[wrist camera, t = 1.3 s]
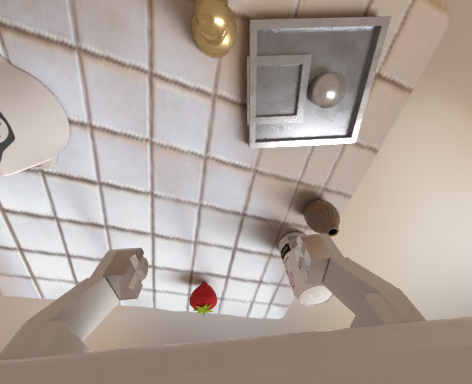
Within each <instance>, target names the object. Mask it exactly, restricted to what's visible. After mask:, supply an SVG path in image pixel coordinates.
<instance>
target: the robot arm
mask: <svg viewBox="0 0 472 384" xmlns="http://www.w3.org/2000/svg"><path fill="white" fill-rule="evenodd" d="M69 136H70V128H69V123H68V119H67V116H66V114H65V112H64V110H63V108H62V106H61V105H60V103H59V102H58V100H57V99H56V98H55V96H54V95H53V94H52V93H51V92H50V91H49V90H48V89H47V88H46V87H45V86H44V85H43V84H42V83H40V82H39V81H38V80H37V79H35V78H34V77H32V76H31V75H29V74H27V73H26V72H24V71H22V70H20V69H18V68H16V67H14V66H13V65H11V64H9V63H8V62H7V61H6V60H5V59H4V58H3V57H2V56H0V175H3V176H9V175H12V174H15V173H18V172H20V171H23V170H26V169H28V168H39V169H50V168H53V167H54V166H55V165H56V161H57V156H58V154H59V153H60V152H61V151H62V150H63V149H64V148H65V147H66V145H67V143H68V140H69ZM296 242H297V244H298V245H297V246H296V247H295V258H296V262H297V264H298V266H300V267H301V268H302V269H301V274H302V276H303V279H304V281H305V284H319V283H323V285H324V286H325V287H326V288H327V289H328V290H329V291H330V292H331V293H333V294H334V295H335V296H336V297H337V298H338V299H339V300H340V301H341V302H342V303H343V304H344V305H345V306H347V307H348V308H349V309H350V310H351V311H352V312H353V313H354V314H355V315H356V316H355V318H354V320H353V322H352V323H351V326H350V327H351V328H344V329H334V330H323V331H312V332H301V333H290V334H280V335H268V336H258V337H246V338H235V339H224V340H213V341H203V342H192V343H181V344H171V345H160V346H149V347H138V348H128V349H116V350H105V351H95V352H90V347H89V346H88V345H87V344H86V343H85V342H84V339H85V338H86V337H87V336H88V335H89V334H90V333H91V332H92V331H93V330H94V329H95V328H96V327H97V325H98V324H99V323H100V322H101V321H102V320H103V319H104V318H105V317H106V316H107V315H108V314H109V313H110V311H111V310H112V309H113V308H114V307H115V306H116V305H117V304H118V303H119V302H120V301H119V300H128V299H137V298H138V296H139V293H140V291H141V288H142V286H143V285H142V283H141V281H142V280H143V279H145V278H146V275H147V272H148V262H147V259H146V258H144V257H143V254H144V252H143V250H142V248H130V249H114V250H109V251H108V252H107V253H106V254H105V256H104V257H103V259H102V260H101V262H100V263H99V265H98V266H97V268H96V269H95V271H94V272H93V274H92V275H91V277H90V278H86V279H85V280H83V281H82V282H81V283H79V284H78V285H77V286H75V287H74V288H72V289H71V290H70V291H68V292H67V293H65V294H64V295H63V296H61V297H60V298H58V299H57V300H56V301H54V302H53V303H51V304H50V305H49V306H47V307H46V308H45V309H43V310H42V311H40V312H39V313H38V314H36V315H35V316H33V317H32V318H31V319H29V320H28V321H27V322H25V324H24V325H23V326H22V327H21V329H20V330H19V331H18V332H17V333H16V334H15V336H14V337H13V338H12V339H11V341H10V342H9V343H8V344H7V346H6V347H5V348H4V349H3V351H2V352H1V353H0V384H472V317H463V318H452V319H443V320H442V319H441V320H431V321H426V319H425V318H424V317H423V316H422V315H421V314H420V313H419V311H418V310H417V309H416V308H415V306H414V305H413V304H412V303H411V302H410V300H409V299H408V298H407V297H406V296H405V295H404V294H403V292H402V291H401V290H400V289H398V288H396V287H395V286H393V285H392V284H390V283H388V282H387V281H385V280H383V279H382V278H380V277H378V276H377V275H375V274H373V273H372V272H370V271H369V270H367V269H365V268H364V267H362V266H360V265H359V264H357V263H355V262H354V261H352V260H350V259H349V258H344V257H343V255H342V254H341V252H340V251H339V249H338V248H337V247H336V245H335V244H334V242H333V241H332V239H331V238H330V236H329V235H328V234H327V233H324V234H313V235H301V236H298V237H297V240H296Z"/></svg>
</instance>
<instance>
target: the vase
mask: <svg viewBox="0 0 472 384" xmlns="http://www.w3.org/2000/svg"><path fill="white" fill-rule="evenodd" d="M304 217H305V220H306V223H307V224H308V226H309V227H310V228H311V229H312V230H314V231H315V232H317V233H320V234H324V233H327V234H328V235H329V236H330V237H331V236H335V235H337V233H338V232H339V229H338V227H339V223H340V216H339V213H338V211H337V209H336V208H335V207H334V206H333V205H332V204H331V203H329V202H327V201H325V200H314V201H312V202H310V203H309V204H308V205H307V206H306V208H305V210H304Z"/></svg>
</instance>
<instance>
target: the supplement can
mask: <svg viewBox="0 0 472 384" xmlns="http://www.w3.org/2000/svg"><path fill="white" fill-rule="evenodd" d="M301 235H305V234H303V233H299V232H293V233H289V234H287V235H285V236H284V237H283V238H282V239H281V240H280V241H279V245H278V247H279V251H280V254H281V257H282V260H283V263H284V266H285V269H286V272H287V275H288V278H289V281H290V284H291V287H292V290H293V292H294V295H295V296H296V298H297V299H298V300H299V301H300V302H301V303H302V304H303V305H305V306H319V305H322V304H324V303H326V302H328V301H329V300H330V299H331V298H332V297H333V296H334V294H333V293H331V292H330V291H329V290H328V289H327V288H326V287H325V286H324V285H323V283H319V284H305V281H304V279H303V276H302V274H301V269H302V268H301V267H300V266H298V264H297V262H296V258H295V247H296V246H297V245H298V244H297V242H296V240H297V237H298V236H301Z"/></svg>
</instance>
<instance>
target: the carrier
mask: <svg viewBox="0 0 472 384" xmlns="http://www.w3.org/2000/svg"><path fill="white" fill-rule="evenodd" d="M390 19H391V16H386V17H344V18H301V19H259V20H250V21H249V23H248V57H247V125H248V146H249V148H267V147H286V146H306V145H325V144H345V143H355V142H356V139H357V135H358V132H359V128H360V125H361V121H362V118H363V114H364V111H365V107H366V103H367V100H368V96H369V93H370V89H371V86H372V82H373V79H374V75H375V72H376V68H377V65H378V61H379V58H380V54H381V51H382V47H383V44H384V40H385V37H386V33H387V30H388V26H389V23H390Z"/></svg>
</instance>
